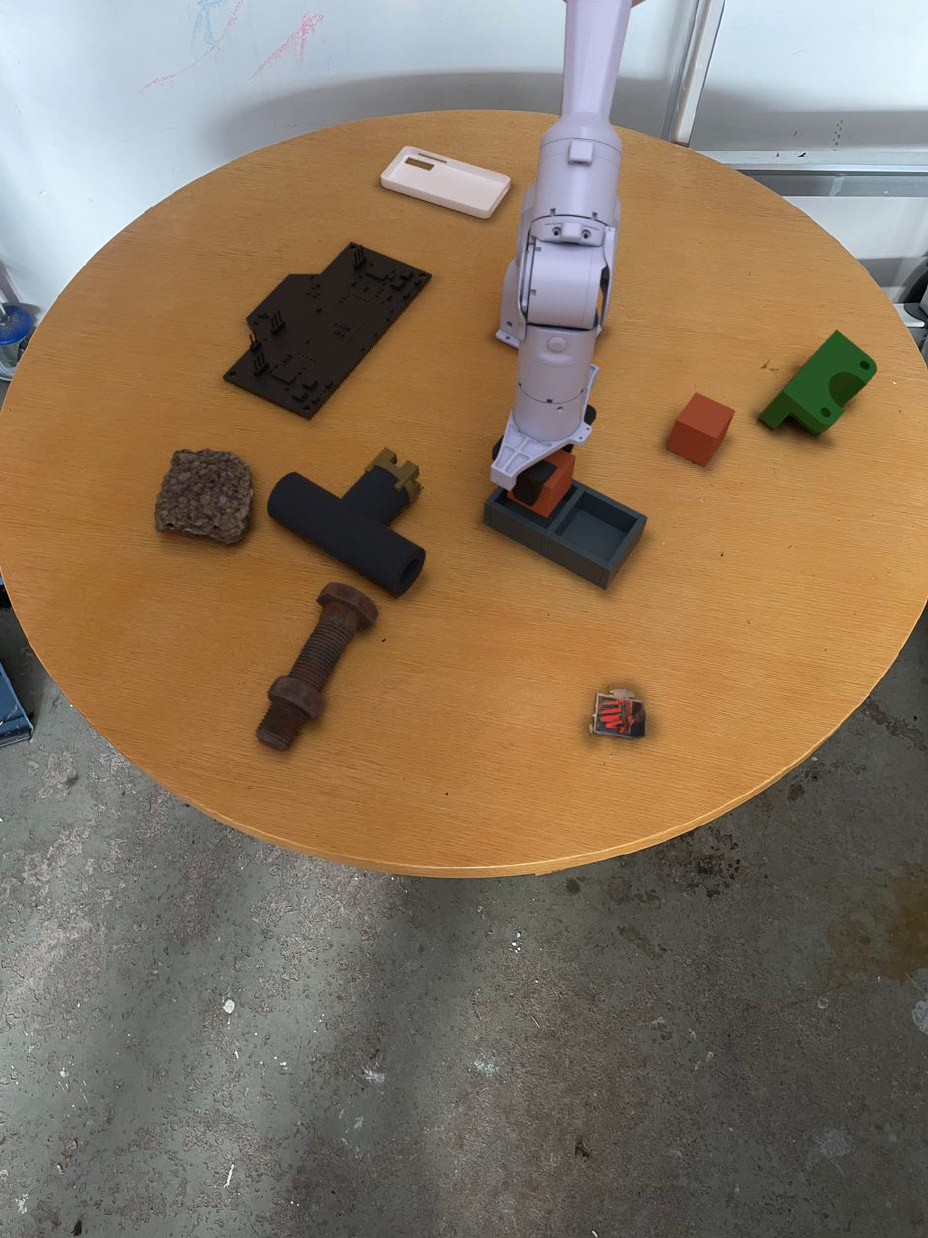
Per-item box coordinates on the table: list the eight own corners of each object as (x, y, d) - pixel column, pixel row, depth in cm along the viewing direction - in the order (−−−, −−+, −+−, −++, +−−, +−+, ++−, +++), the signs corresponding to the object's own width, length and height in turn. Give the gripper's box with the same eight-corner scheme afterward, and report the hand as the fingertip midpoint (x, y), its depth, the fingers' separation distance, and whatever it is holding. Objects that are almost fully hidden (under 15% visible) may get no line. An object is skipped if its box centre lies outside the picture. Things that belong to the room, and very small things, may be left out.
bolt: (271, 755, 75) (350, 614, 81) (310, 766, 72) (389, 618, 78) (227, 722, 71) (314, 577, 77) (267, 733, 68) (354, 580, 74)
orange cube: (506, 496, 82) (509, 466, 78) (531, 466, 84) (535, 435, 80) (546, 518, 81) (551, 488, 77) (570, 486, 82) (576, 456, 78)
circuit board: (310, 421, 91) (305, 401, 88) (201, 370, 94) (194, 349, 92) (431, 279, 101) (431, 257, 99) (330, 238, 105) (327, 216, 102)
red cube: (666, 448, 90) (676, 419, 86) (685, 421, 91) (695, 391, 87) (704, 467, 88) (716, 438, 85) (723, 439, 90) (735, 410, 86)
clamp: (789, 463, 94) (817, 443, 85) (747, 427, 95) (770, 404, 86) (864, 380, 94) (899, 351, 85) (821, 344, 94) (852, 312, 85)
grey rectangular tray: (483, 523, 85) (484, 502, 82) (522, 474, 88) (524, 452, 85) (605, 590, 81) (610, 571, 78) (641, 537, 84) (648, 516, 81)
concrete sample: (245, 564, 83) (233, 534, 78) (144, 547, 83) (126, 517, 79) (279, 470, 88) (269, 437, 84) (184, 455, 89) (169, 422, 84)
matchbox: (650, 737, 74) (651, 735, 74) (591, 743, 74) (592, 741, 74) (639, 687, 77) (640, 685, 76) (582, 693, 76) (583, 691, 76)
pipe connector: (340, 417, 84) (465, 489, 80) (346, 451, 89) (466, 521, 85) (261, 496, 80) (390, 576, 76) (273, 528, 85) (395, 605, 81)
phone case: (379, 186, 110) (487, 220, 107) (378, 176, 108) (487, 210, 105) (406, 153, 113) (511, 186, 110) (405, 143, 112) (512, 176, 109)
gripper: (548, 458, 65) (534, 556, 77) (639, 342, 71) (613, 450, 83) (470, 418, 67) (468, 520, 79) (565, 308, 73) (550, 418, 85)
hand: (538, 482), depth 81 cm, fingers closed on orange cube, 4 cm apart
